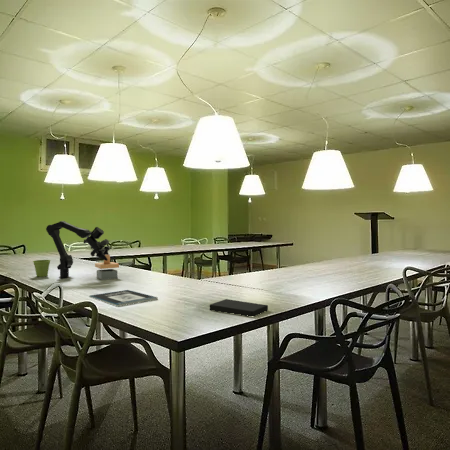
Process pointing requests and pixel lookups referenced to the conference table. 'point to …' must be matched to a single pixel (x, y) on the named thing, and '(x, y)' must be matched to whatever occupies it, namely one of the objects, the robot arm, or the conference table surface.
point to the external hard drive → (238, 307)
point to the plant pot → (41, 267)
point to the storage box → (107, 274)
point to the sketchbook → (123, 297)
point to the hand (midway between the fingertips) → (108, 259)
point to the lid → (107, 264)
